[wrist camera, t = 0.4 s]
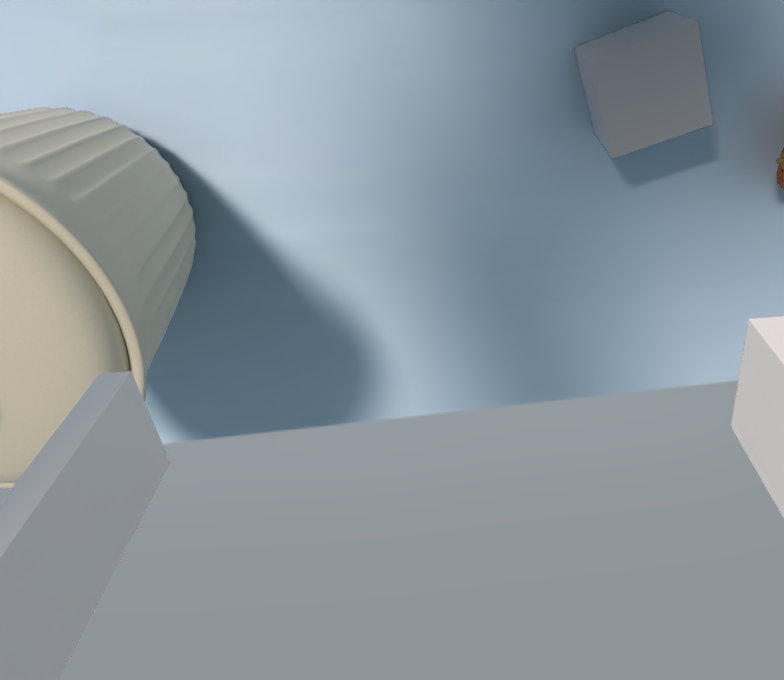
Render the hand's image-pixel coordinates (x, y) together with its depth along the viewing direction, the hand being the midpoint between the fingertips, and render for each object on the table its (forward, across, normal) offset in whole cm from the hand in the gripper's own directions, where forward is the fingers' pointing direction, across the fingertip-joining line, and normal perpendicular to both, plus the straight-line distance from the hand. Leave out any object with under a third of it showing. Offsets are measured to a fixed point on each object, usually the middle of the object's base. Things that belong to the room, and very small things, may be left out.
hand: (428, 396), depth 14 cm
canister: (+28, -22, -4) cm, 36 cm away
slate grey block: (+28, +11, 0) cm, 30 cm away
